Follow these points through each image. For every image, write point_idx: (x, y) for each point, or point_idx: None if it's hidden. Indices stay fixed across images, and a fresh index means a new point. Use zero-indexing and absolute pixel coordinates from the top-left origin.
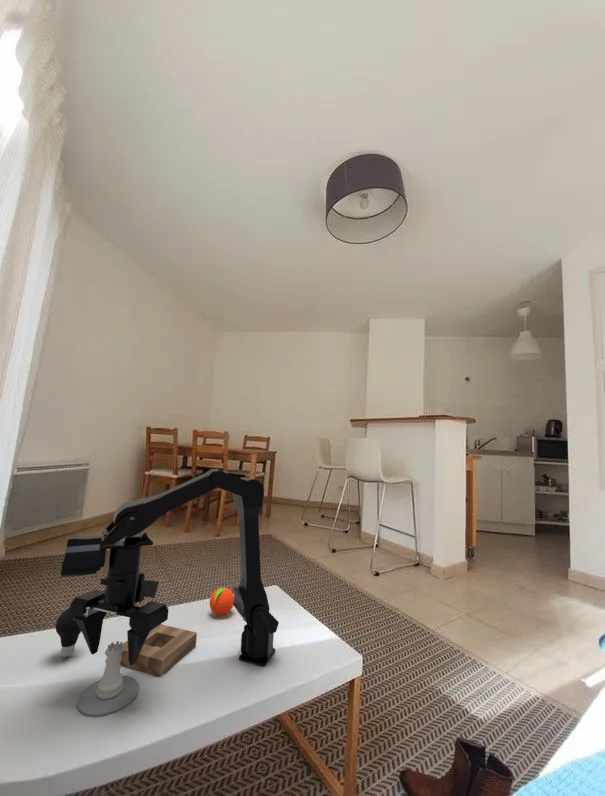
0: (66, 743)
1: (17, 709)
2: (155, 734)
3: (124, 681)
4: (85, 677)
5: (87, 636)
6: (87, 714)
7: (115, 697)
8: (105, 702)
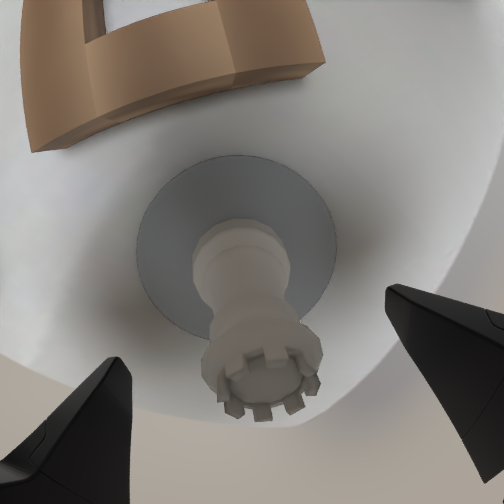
0: None
1: None
2: (445, 255)
3: (223, 192)
4: (74, 255)
5: (127, 484)
6: None
7: None
8: None
